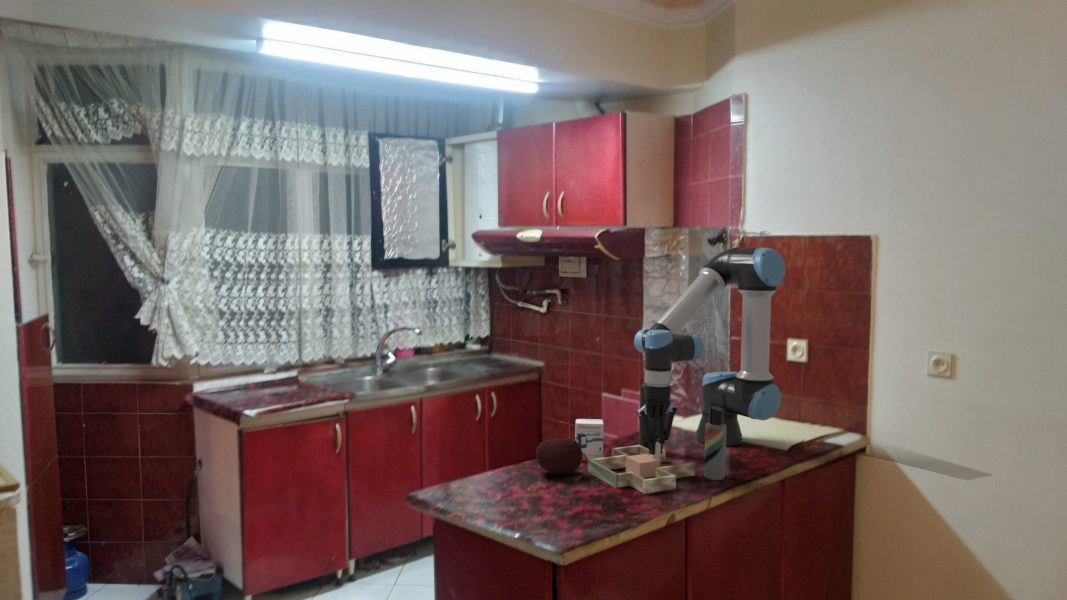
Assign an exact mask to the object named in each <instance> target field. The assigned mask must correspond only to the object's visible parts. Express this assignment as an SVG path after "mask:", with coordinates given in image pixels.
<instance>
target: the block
mask: <svg viewBox="0 0 1067 600" xmlns="http://www.w3.org/2000/svg"><path fill="white" fill-rule="evenodd" d="M658 467H661V462H660V460H659V459H656V458H654V457H652V456H650V455H648V454H641V455H633V456H626V467H625V472H633V473H635V474H637V475H639V476H641V477H643V478H645V479H647V478H654V477H655V468H658Z"/></svg>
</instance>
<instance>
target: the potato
mask: <svg viewBox="0 0 1067 600" xmlns="http://www.w3.org/2000/svg"><path fill="white" fill-rule="evenodd" d="M535 456H536V457H535V458H536V461H537V463H538V465H539V466H540V467H541V468H542V470H544V471H546V472H547V473H549V474H552V475H557V476H566V475H570V474H572V473H574V472H576V471H577V470H578V469H579V468H580V466H581V464H582V462H583V461H582V458H583V457H582V450H581V447H580V445H579V444H578V443H577V441H576V440H575V438H570V437H557V438H549V439H546V440H544V441H541V442H540V443H539V444H538V445H537V446H536V451H535Z"/></svg>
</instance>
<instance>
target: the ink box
mask: <svg viewBox="0 0 1067 600" xmlns="http://www.w3.org/2000/svg"><path fill="white" fill-rule="evenodd" d="M604 425H605V424H604V420H603V419H596V418H594V419H593V418H576V419H575V428H574V429H575V431H574V432H575V433H574V434H575V435H574V440H576V441H577V443H578V444H579V445H580V447H581V450H582V457H583V458H582V462H588V460H590V459H597V458H604V429H605V427H604Z"/></svg>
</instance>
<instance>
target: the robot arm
mask: <svg viewBox="0 0 1067 600" xmlns="http://www.w3.org/2000/svg"><path fill="white" fill-rule="evenodd" d="M785 277H786V263H785V261H784V258H783V256H782V255H781V254H780V252H779V251H778V250H776V249H775V248H769V247H763V246H760V247H739V246H738V247H737V246H735V247H730V248H727V249H725V250H723V251H721V252H719V253H718V254H716V255H715V256H714V257H712V258H711V259H710V260H709V261H708V262H706V263H705V265H703V266H702V267H701V269H700V270H699V272H698V276H697V278H696V279H694V281H693V282H692V283H691V284H690V285H689V286H688V287H687V288H686V289H685V290H684V291H683V292H682V294H681V295H680V296H679V297H677V299H676V300H675V301H674V302H673V303H672V304H671V305H670V307H669V308H668V309H667V310H665V312H664V313H663V314H662V315H661V316H660V317H659V318H658V319H657V321H656V322H655V323H654V324H653V325H652V326H651V327H650V328H645V329H640V330H638V331H637V332H636V334H635V335H634V341H633V344H634V347H635V349H636V350H637V351H638V352H639V353H641V354H644V382H645V383H647V384H645V385H644V397H645V401H644V404H643V407H642V408H641V409H640V408H637V409H636V410H635V413H636V415H637V416H638V419H639V424H640V425H641V431H642V436H643V440H644V441H646V442H649V454H651V456H652V457H654V458H656V459H659V460H660V454H662V450H663V448H664V446H663V445H664V444H665V443H666V441H669V439H670V435H671V431H672V426H673V422H674V418H675V415H676V413H677V411H678V408H677V407H676V406H674V405H673V404H672V403H671V401H670V398H671V393H672V387H671V383H672V366H673V365H672V364H673V363H679V362H680V363H681V362H691V361H696V360H699V359H700V358H701V357H703V354H704V352H705V350H704V349H705V345H704V342H703V340H702V338H701V336H698V335H696V334H686V335H684V334H680V332H681V331H682V330H684V328H685V327H686V326H687V325H688V324H689V323H690V322H691V321H692V320H693V318H694V317H695V316H696V315H697V314H698V313H699V311H701V310H702V308H703V307H704V306H705V305H706V304H707V303H708V302H709V301H710V300H711V299H712V298H713V296H715V294H716V293H717V292H721V291H723V290H724V289H725V288H726V287H727V286H729V285H732V284H737V291H738V292H739V293H740V294H741V295H742V306H741V308H742V310H741V338H740V339H741V342H740V343H741V344H740V346H741V347H740V348H741V349H740V370H738V372H737V371H712V372H707V373H705V374H704V375H703V378H702V384H701V386H702V387H701V388H702V390H701V395H702V396H701V417H700V420H699V423H698V427H697V429H696V431H695V440H696V441H697V442H700V443H702V444H705V428H706V423H709V411H710V409H711V407H712V406H715V407H720V408H723V424H725V425H726V447H733V446H738V445H741V444H742V443H743V434H742V430H741V427H740V426H741V425H740V423H739V418H738V415H739V416H742V417H746V418H749V419H752V420H758V421H759V420H760V421H767V420H770V419H771V418H772V417H774V416H775V414H776V413H777V412H778V410H779V408H780V405H781V401H782V392H781V390H780V388H779V387H778V386H777V385H775V384H774V383H775V382H774V380H775V379H774V378H775V377H774V376H773V375H772V373H770V346H771V345H770V344H771V315H772V314H771V313H772V311H771V309H772V296H773V295H774V294H775V293H777V286H779V285H781V284H782V282H784V280H783V279H785ZM646 411H647V413H648V419H649V424H648V419H647V416H646V415H647V413H646Z"/></svg>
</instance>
